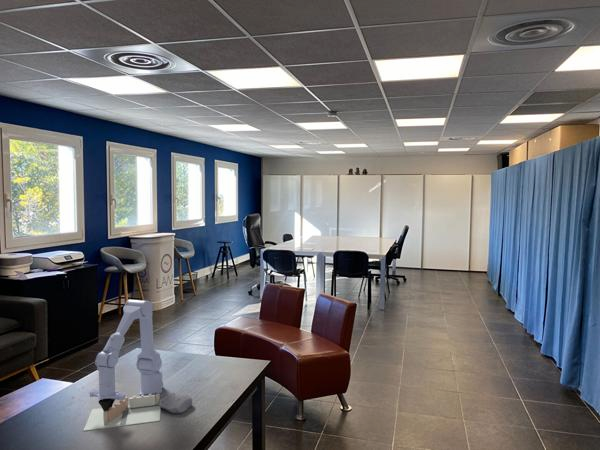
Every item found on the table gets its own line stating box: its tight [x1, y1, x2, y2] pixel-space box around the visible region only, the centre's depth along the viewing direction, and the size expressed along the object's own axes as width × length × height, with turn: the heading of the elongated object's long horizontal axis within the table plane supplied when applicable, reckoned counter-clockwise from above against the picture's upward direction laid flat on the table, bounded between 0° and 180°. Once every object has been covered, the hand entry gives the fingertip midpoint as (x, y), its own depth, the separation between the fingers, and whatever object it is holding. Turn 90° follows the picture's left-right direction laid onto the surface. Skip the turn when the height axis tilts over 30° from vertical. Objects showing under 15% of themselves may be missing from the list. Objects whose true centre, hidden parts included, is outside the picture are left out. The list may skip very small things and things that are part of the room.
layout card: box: [83, 401, 162, 432], centre depth 170 cm, size 27×17×1 cm, turn 106°
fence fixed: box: [124, 393, 161, 409], centre depth 176 cm, size 14×1×5 cm, turn 106°
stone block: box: [159, 392, 193, 414], centre depth 176 cm, size 12×5×10 cm
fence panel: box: [103, 399, 126, 424], centre depth 168 cm, size 12×1×5 cm, turn 165°
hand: (107, 416), depth 166 cm, fingers closed
